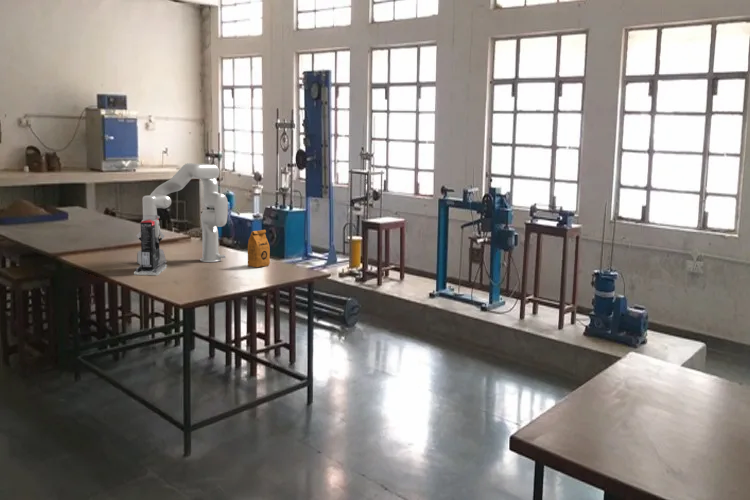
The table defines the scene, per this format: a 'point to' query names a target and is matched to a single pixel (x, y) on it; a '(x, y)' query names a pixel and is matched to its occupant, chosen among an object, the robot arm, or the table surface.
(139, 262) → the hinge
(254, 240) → the coffee package
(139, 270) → the rail mount
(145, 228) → the graphics card box
